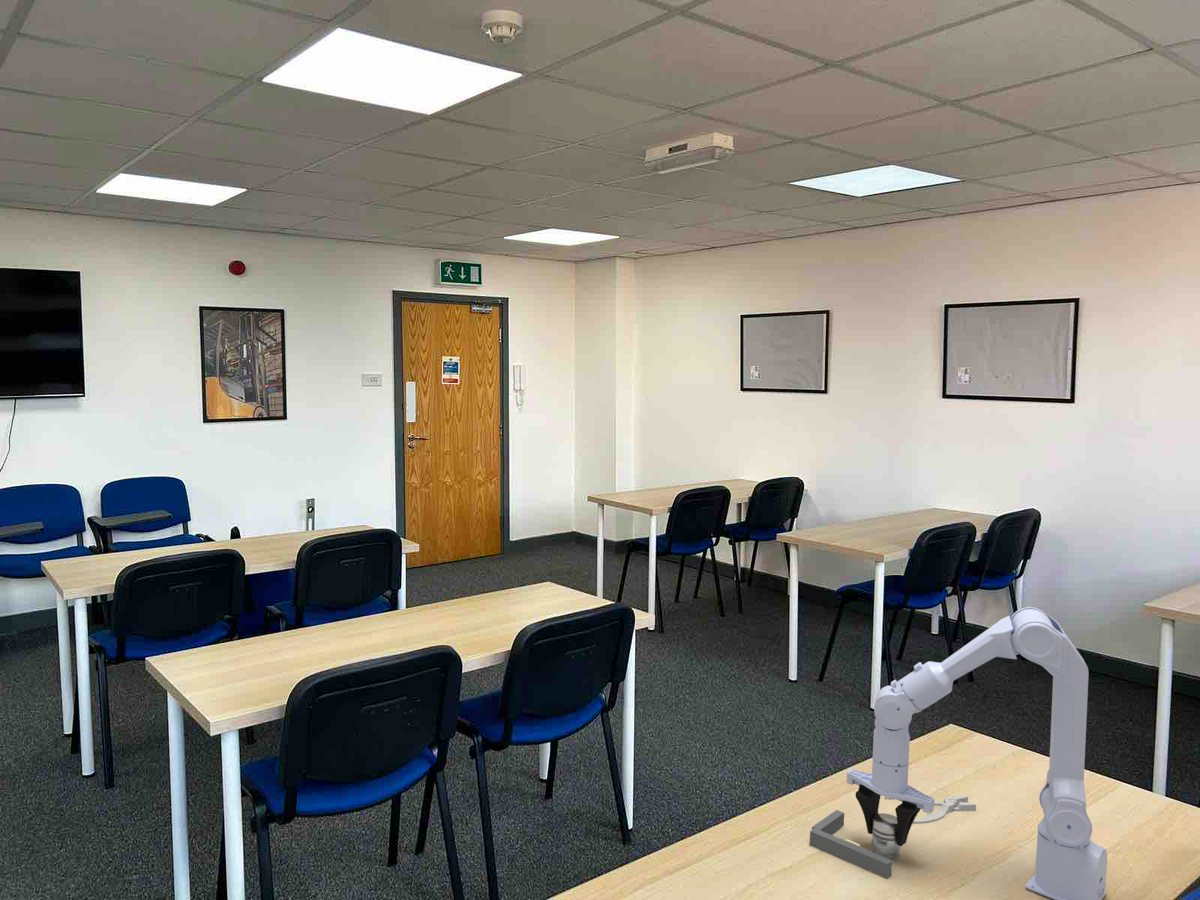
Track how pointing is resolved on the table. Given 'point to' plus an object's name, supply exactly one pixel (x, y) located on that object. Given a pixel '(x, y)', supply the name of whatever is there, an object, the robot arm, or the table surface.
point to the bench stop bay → (847, 846)
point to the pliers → (946, 808)
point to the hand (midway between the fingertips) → (886, 837)
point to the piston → (885, 836)
